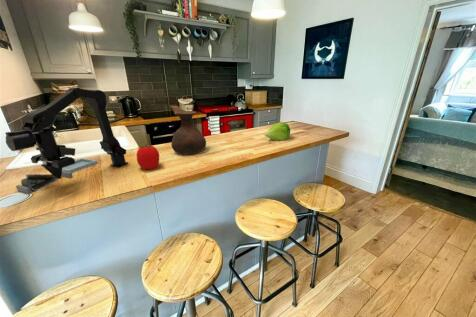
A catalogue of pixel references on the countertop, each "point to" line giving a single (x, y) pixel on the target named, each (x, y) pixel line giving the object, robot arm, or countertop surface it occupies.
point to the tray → (79, 165)
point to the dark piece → (38, 181)
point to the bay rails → (27, 190)
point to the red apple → (148, 157)
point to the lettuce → (278, 131)
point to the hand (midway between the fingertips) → (59, 178)
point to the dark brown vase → (187, 134)
